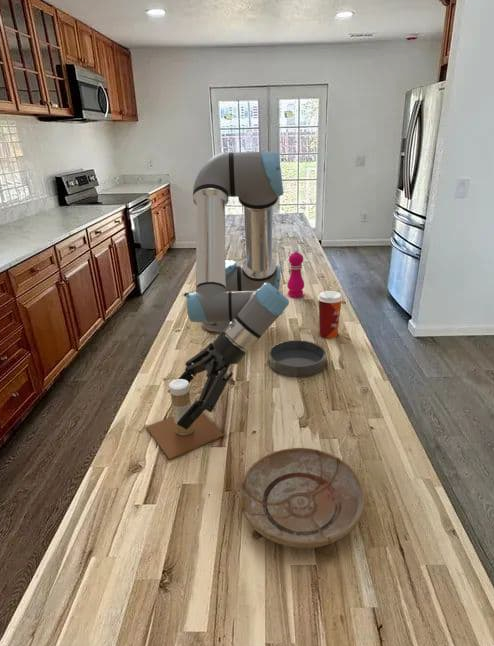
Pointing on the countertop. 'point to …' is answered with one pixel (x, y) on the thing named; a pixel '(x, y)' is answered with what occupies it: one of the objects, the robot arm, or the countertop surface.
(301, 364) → the pan
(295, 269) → the pepper mill
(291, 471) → the ceramic bowl
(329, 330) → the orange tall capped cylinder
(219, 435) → the cork mat
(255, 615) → the countertop surface
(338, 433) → the countertop surface
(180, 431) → the sprinkles bottle
